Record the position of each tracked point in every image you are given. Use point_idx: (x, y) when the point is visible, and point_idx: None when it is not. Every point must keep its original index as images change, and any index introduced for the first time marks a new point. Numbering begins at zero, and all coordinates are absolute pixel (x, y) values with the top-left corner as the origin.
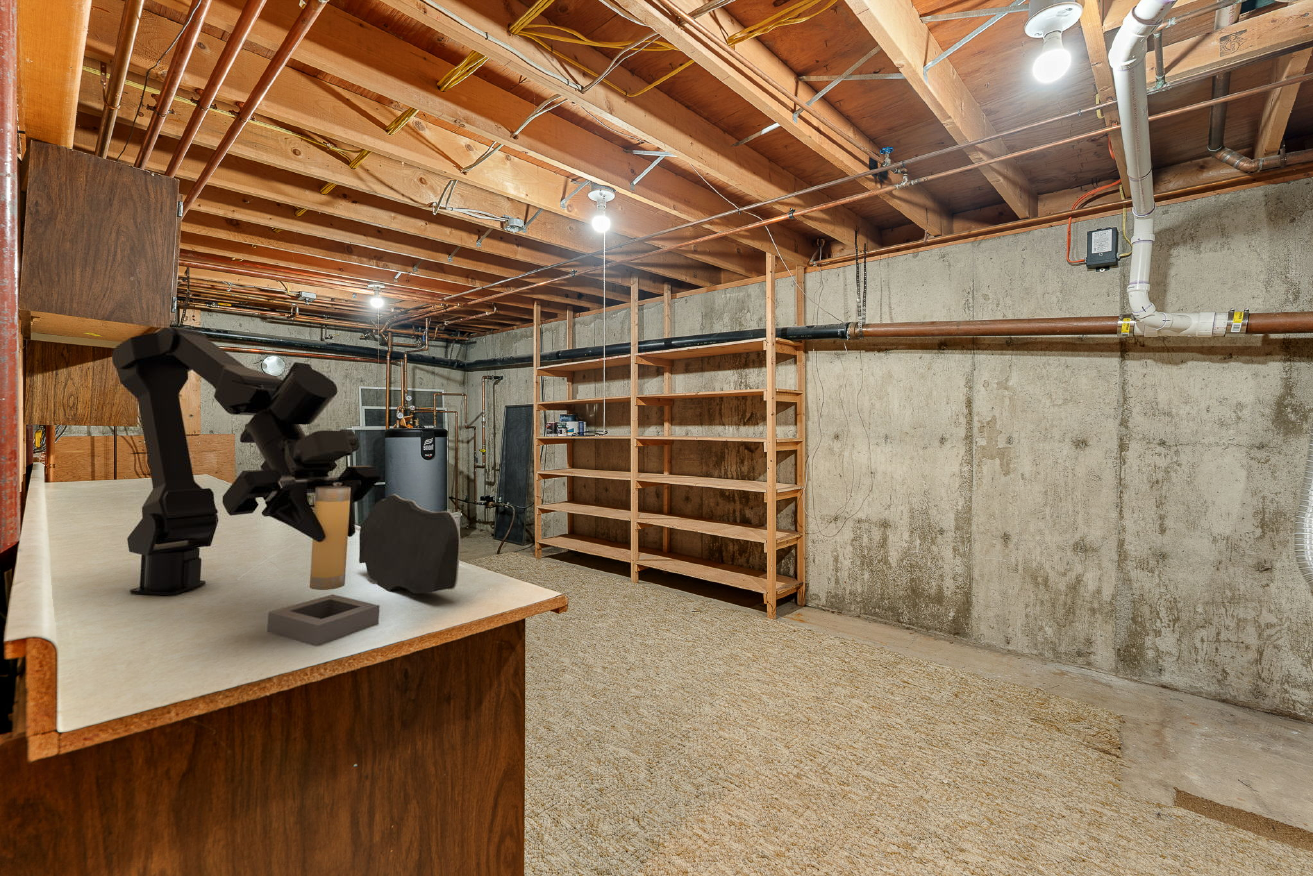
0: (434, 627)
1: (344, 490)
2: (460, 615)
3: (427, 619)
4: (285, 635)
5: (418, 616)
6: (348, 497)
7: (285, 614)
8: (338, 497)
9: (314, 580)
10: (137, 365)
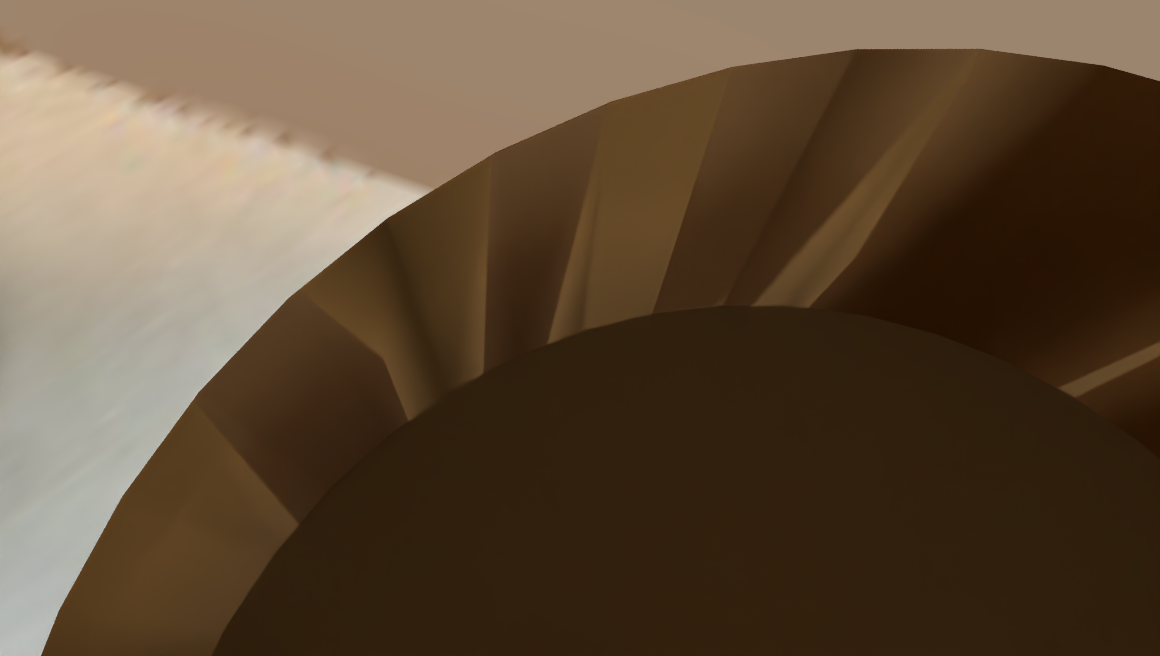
0: (261, 190)
1: (935, 102)
2: (22, 183)
3: (156, 303)
4: None
5: (125, 384)
6: (569, 295)
7: None
8: (1055, 313)
9: None
10: None
